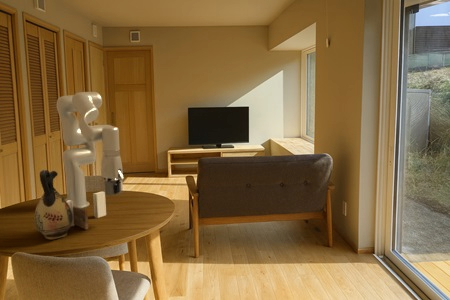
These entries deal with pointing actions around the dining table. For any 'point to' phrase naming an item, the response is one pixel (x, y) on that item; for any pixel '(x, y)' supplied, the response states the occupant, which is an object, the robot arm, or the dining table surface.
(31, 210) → the dining table surface
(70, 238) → the dining table surface
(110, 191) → the block
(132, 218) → the dining table surface
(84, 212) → the door
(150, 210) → the dining table surface
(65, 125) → the robot arm
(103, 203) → the wall
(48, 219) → the ceramic jug
